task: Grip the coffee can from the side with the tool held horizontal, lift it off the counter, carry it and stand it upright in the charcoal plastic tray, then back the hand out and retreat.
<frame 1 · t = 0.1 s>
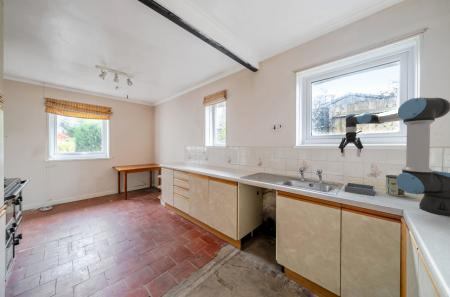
hand: (350, 156, 143), 28 cm above the table, tool pointing down, fingers open, 13 cm apart
tray: (359, 190, 137), on the table
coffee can: (394, 194, 127), on the table
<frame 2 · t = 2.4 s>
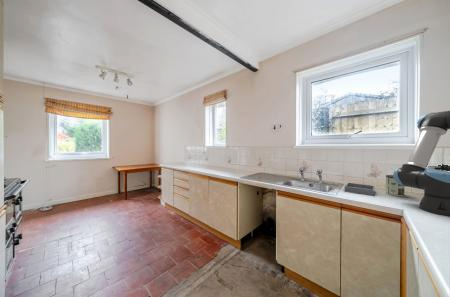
hand: (419, 166, 122), 22 cm above the table, tool horizontal, fingers open, 13 cm apart
nothing on the table moved.
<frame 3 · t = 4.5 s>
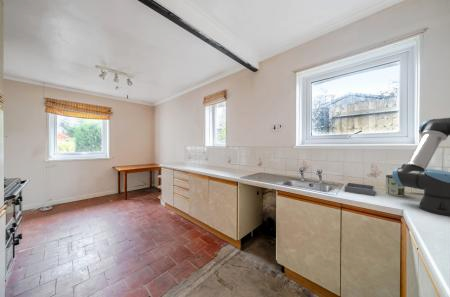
hand: (406, 184, 126), 8 cm above the table, tool horizontal, fingers open, 13 cm apart
nothing on the table moved.
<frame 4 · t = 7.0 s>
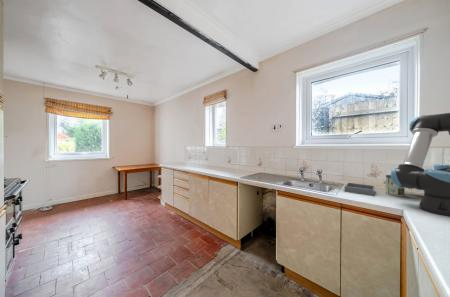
hand: (388, 183, 128), 8 cm above the table, tool horizontal, fingers closed on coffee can, 10 cm apart
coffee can: (394, 194, 127), on the table, touching gripper
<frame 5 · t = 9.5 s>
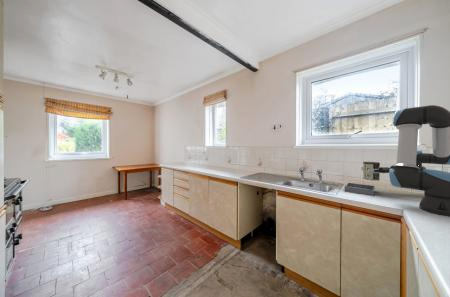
hand: (364, 169, 136), 18 cm above the table, tool horizontal, fingers closed on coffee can, 10 cm apart
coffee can: (371, 179, 135), point 10 cm above the table, touching gripper
when the fingers open (10 cm above the table, at t = 12.4 s): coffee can drops 1 cm, resting on tray.
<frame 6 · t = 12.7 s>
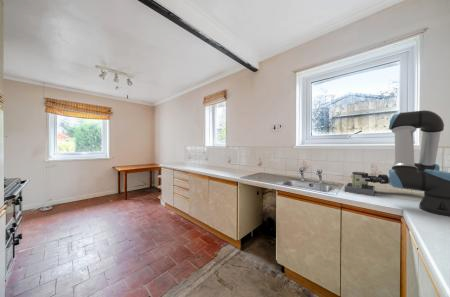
hand: (355, 178, 137), 10 cm above the table, tool horizontal, fingers open, 13 cm apart
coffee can: (359, 189, 137), point 1 cm above the table, touching tray
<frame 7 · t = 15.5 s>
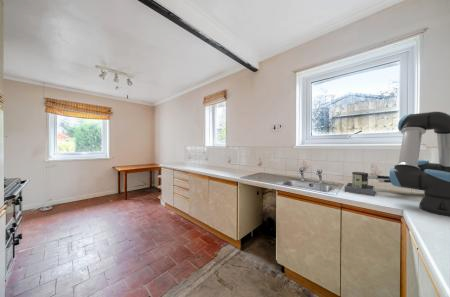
hand: (373, 178, 134), 11 cm above the table, tool horizontal, fingers open, 13 cm apart
nothing on the table moved.
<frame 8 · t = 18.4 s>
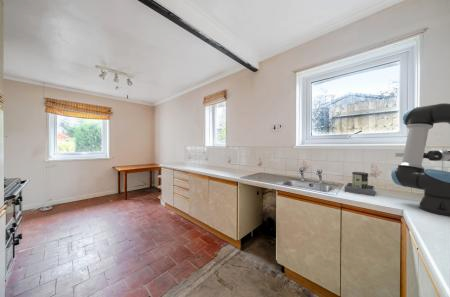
hand: (401, 155, 125), 30 cm above the table, tool horizontal, fingers open, 13 cm apart
nothing on the table moved.
at the end: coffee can inside the target area on the tray (0.1 cm from its centre), point 0.8 cm above the tray's base; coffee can tilted 0°; the gripper is holding nothing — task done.
